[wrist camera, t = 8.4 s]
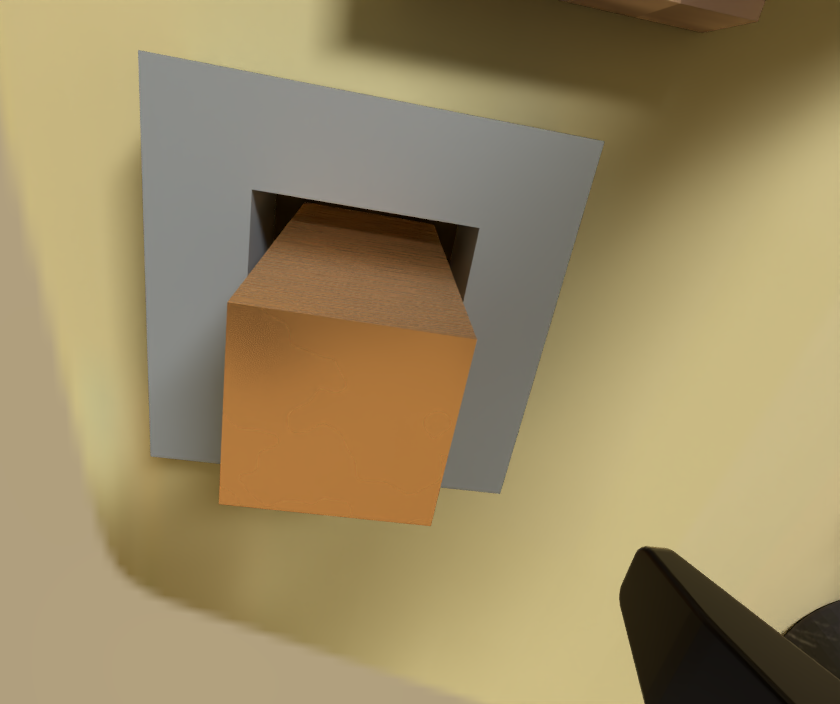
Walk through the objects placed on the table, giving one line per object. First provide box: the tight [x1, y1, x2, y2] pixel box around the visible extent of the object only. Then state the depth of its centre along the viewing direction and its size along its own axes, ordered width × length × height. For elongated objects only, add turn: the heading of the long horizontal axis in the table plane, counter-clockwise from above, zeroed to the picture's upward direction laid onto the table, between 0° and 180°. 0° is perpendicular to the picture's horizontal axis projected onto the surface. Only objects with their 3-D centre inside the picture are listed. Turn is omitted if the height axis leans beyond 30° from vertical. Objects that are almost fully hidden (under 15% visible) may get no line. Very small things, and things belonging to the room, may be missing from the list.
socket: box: [138, 50, 605, 494], centre depth 16 cm, size 11×11×4 cm
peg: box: [219, 202, 477, 526], centre depth 14 cm, size 4×4×9 cm
